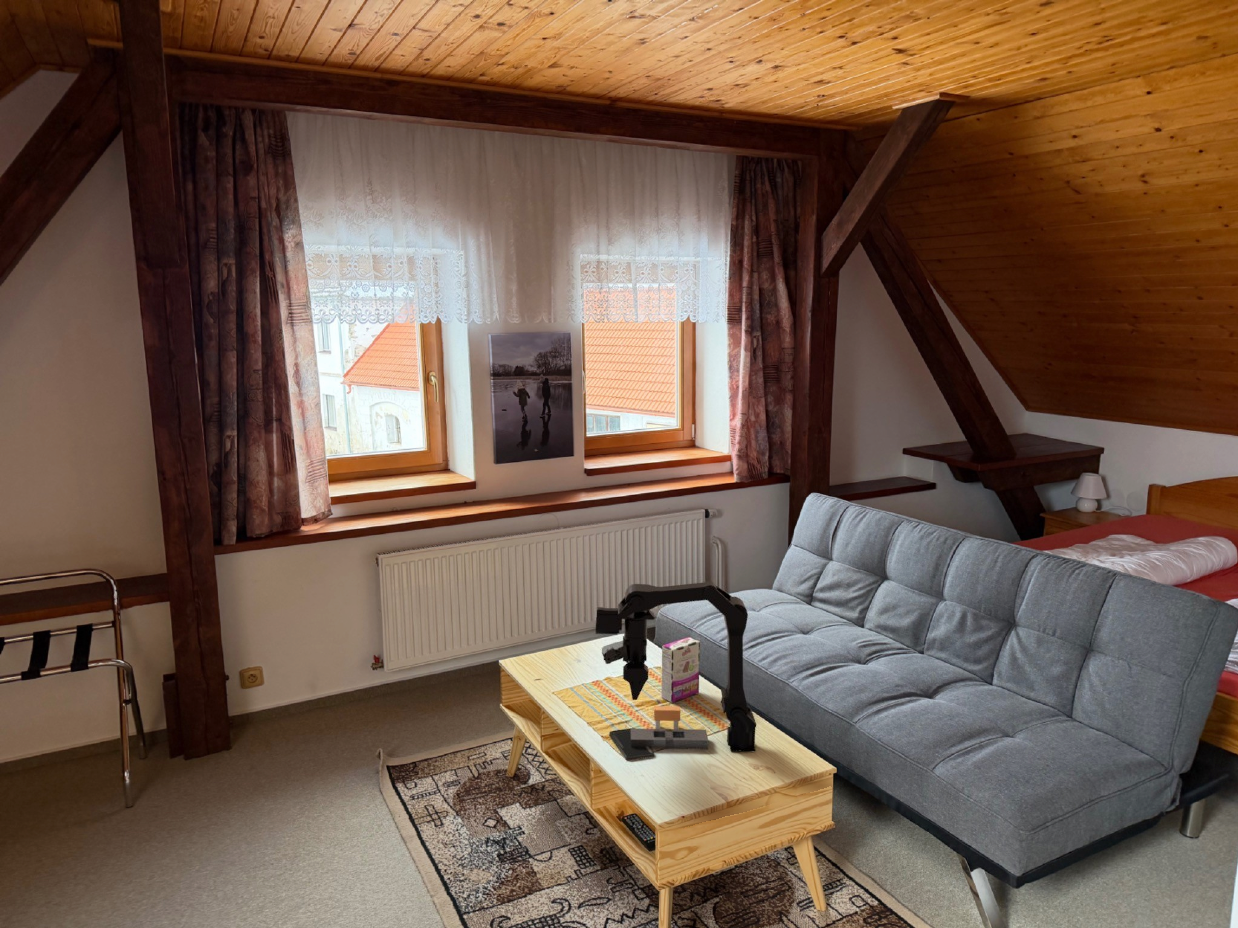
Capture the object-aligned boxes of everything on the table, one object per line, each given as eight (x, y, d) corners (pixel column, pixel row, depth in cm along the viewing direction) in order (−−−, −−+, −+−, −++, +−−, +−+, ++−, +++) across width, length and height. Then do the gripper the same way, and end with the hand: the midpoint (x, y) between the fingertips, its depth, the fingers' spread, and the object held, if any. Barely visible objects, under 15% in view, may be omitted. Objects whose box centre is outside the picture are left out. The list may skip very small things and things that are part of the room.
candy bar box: (687, 687, 268) (689, 636, 266) (699, 693, 265) (701, 641, 262) (659, 697, 261) (661, 644, 259) (671, 703, 258) (673, 649, 255)
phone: (635, 727, 241) (655, 753, 227) (635, 731, 242) (655, 757, 228) (607, 731, 239) (626, 758, 225) (607, 735, 239) (626, 762, 225)
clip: (679, 725, 245) (679, 706, 244) (679, 729, 242) (680, 710, 241) (653, 724, 244) (654, 706, 244) (654, 729, 242) (654, 710, 241)
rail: (705, 738, 238) (705, 729, 237) (708, 749, 232) (708, 740, 231) (630, 737, 237) (630, 728, 237) (630, 748, 231) (630, 739, 231)
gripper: (604, 621, 237) (603, 676, 240) (603, 647, 219) (602, 707, 222) (646, 621, 237) (645, 677, 240) (649, 648, 219) (647, 708, 222)
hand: (634, 691), depth 231 cm, fingers open, 9 cm apart
